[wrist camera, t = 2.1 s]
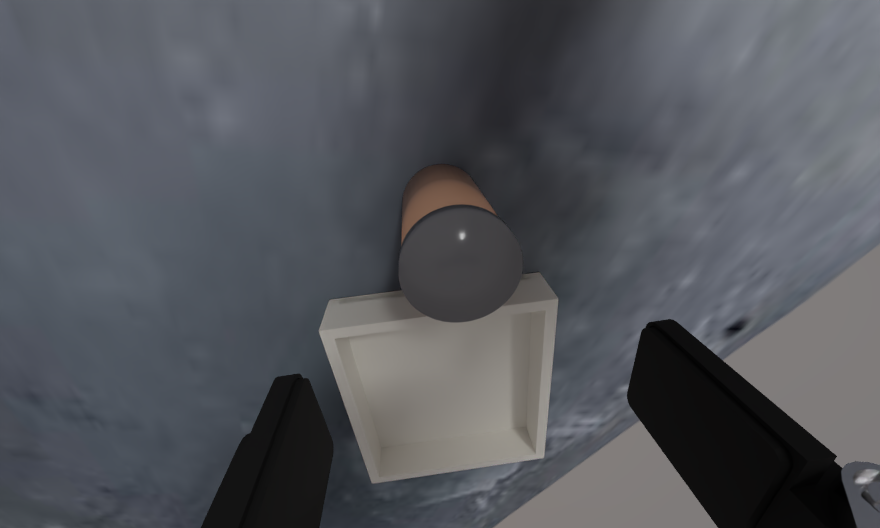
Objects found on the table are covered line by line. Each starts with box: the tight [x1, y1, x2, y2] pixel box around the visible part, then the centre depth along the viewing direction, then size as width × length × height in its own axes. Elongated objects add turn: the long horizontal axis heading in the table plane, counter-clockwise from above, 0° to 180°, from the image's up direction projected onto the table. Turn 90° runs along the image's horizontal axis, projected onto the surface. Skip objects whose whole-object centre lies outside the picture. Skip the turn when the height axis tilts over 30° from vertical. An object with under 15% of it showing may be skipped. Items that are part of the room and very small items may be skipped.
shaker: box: [398, 164, 523, 323], centre depth 18 cm, size 5×5×9 cm
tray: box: [319, 272, 558, 484], centre depth 27 cm, size 18×16×4 cm
